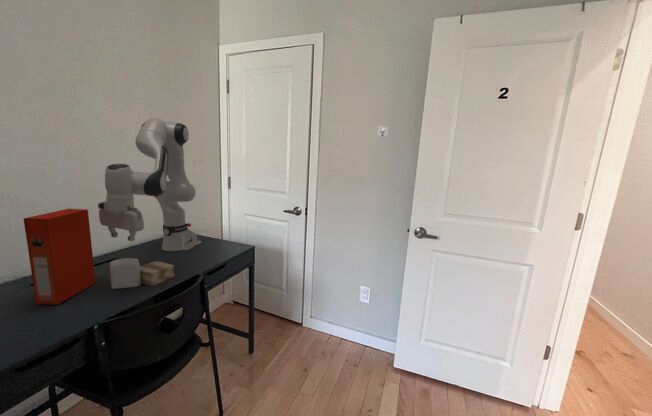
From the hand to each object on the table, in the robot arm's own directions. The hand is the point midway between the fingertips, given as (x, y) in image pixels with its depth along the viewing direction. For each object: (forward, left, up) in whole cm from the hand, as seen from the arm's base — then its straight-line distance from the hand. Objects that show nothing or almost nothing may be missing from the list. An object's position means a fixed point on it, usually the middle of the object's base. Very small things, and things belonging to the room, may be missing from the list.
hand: (122, 238), depth 113 cm
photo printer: (0, 0, -21) cm, 21 cm away
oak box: (-10, +4, -21) cm, 24 cm away
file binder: (+13, -14, -21) cm, 28 cm away
